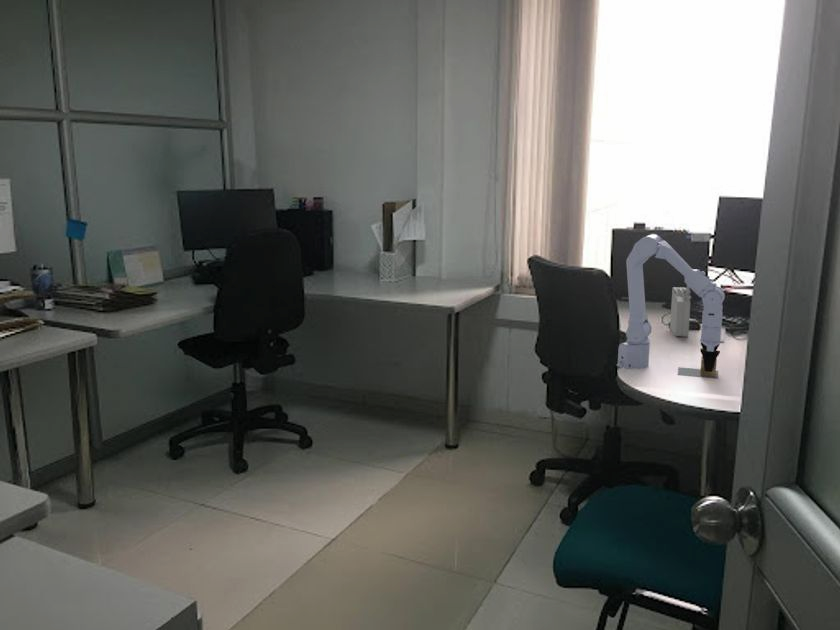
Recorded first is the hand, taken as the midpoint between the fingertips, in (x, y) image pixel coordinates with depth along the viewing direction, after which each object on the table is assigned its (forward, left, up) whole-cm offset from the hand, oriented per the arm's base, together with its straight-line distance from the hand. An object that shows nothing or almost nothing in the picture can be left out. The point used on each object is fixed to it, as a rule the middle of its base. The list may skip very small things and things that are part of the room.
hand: (708, 367), depth 225 cm
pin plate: (-2, +2, -3) cm, 4 cm away
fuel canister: (+22, +52, -3) cm, 56 cm away
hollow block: (0, 0, -2) cm, 2 cm away
